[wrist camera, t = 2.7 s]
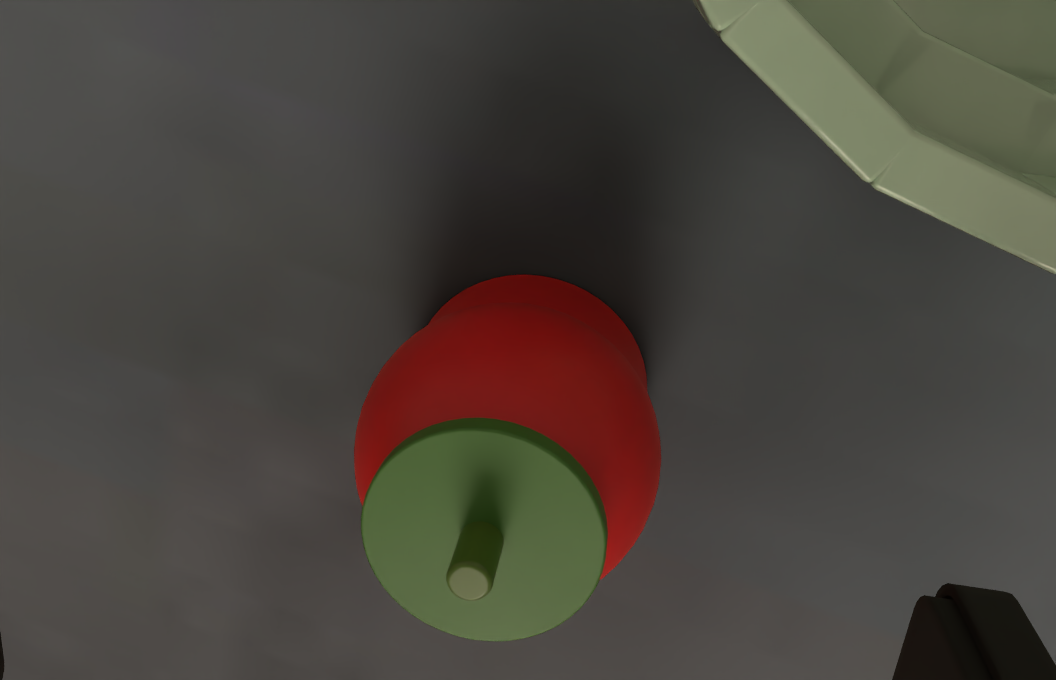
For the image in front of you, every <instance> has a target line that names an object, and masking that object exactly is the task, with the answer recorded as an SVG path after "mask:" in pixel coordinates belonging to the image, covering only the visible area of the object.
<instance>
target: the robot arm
mask: <svg viewBox="0 0 1056 680" xmlns="http://www.w3.org/2000/svg"><path fill="white" fill-rule="evenodd" d="M3 672H4V657H3V649H2V641H1V634H0V680H2V678H3ZM892 680H1056V665H1055V663H1054V662H1053V660H1052V658H1051V657H1050V655H1049V653H1048V651H1047V650H1046V648H1045V646H1044V645H1043V643H1042V641H1041V640H1040V638H1039V636H1038V634H1037V633H1036V631H1035V629H1034V628H1033V626H1032V624H1031V623H1030V621H1029V619H1028V618H1027V616H1026V614H1025V612H1024V611H1023V609H1022V607H1021V606H1020V604H1019V602H1018V601H1017V600H1016V598H1015V597H1014V596H1013V595H1012V594H1010V593H1007V592H1003V591H996V590H989V589H983V588H976V587H969V586H963V585H956V584H949V583H947V584H945V585H943V586H942V587H941V588H940V589H939V590H938V592H937V594H936V596H935V597H931V596H925V595H924V596H922V597H920V598H919V600H918V601H917V603H916V605H915V608H914V610H913V614H912V617H911V620H910V623H909V627H908V630H907V633H906V636H905V640H904V643H903V646H902V649H901V653H900V656H899V659H898V663H897V666H896V669H895V672H894V676H893V679H892Z"/></svg>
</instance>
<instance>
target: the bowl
mask: <svg viewBox="0 0 1056 680" xmlns="http://www.w3.org/2000/svg"><path fill="white" fill-rule="evenodd" d="M692 1H693V3H694V5H695V7H696V9H697V10H698V11H699V12H700V13H701V15H702V16H703V18H704V20H705V21H706V22H707V23H708V24H709V26H710V27H711V28H712V29H713V30H714V32H715V33H716V34H717V35H718V36H719V38H720V39H721V40H722V41H723V42H724V43H725V44H726V45H727V46H728V47H729V48H730V49H731V50H732V51H733V52H734V53H735V54H736V55H737V56H738V57H739V58H740V59H741V60H742V61H743V62H744V63H745V64H746V65H747V66H748V67H749V68H750V69H751V70H752V71H753V72H754V73H755V74H756V75H757V76H758V77H759V78H760V79H761V80H762V81H763V82H764V83H765V84H766V85H767V86H768V87H769V88H770V89H771V90H772V91H773V92H774V93H775V94H776V95H777V96H778V97H779V98H780V99H781V100H782V101H783V102H784V103H785V104H786V105H787V106H788V107H789V108H790V109H791V110H792V111H793V112H794V113H795V114H796V115H797V116H798V117H799V118H800V119H801V120H802V121H803V122H804V123H805V124H806V125H807V126H808V127H809V128H810V129H811V130H812V131H813V132H814V133H815V134H816V135H817V136H818V137H819V138H820V139H821V140H822V141H823V142H824V143H825V144H826V145H827V146H828V147H829V148H830V149H831V150H832V151H833V152H834V153H835V154H836V155H838V156H839V157H840V158H841V159H842V160H843V161H844V162H845V163H846V164H847V165H848V166H849V167H850V168H851V169H852V170H853V171H854V172H855V173H856V174H857V175H858V176H859V177H860V178H861V179H862V180H863V181H865V182H867V183H869V184H870V185H871V186H872V187H873V188H874V189H875V190H877V191H879V192H881V193H883V194H886V195H888V196H890V197H892V198H894V199H896V200H898V201H900V202H902V203H904V204H907V205H909V206H911V207H913V208H915V209H917V210H919V211H921V212H923V213H926V214H928V215H930V216H932V217H934V218H936V219H938V220H940V221H942V222H944V223H947V224H949V225H951V226H953V227H955V228H957V229H959V230H961V231H963V232H966V233H968V234H970V235H972V236H974V237H976V238H978V239H980V240H982V241H985V242H987V243H989V244H991V245H993V246H995V247H997V248H999V249H1001V250H1003V251H1006V252H1008V253H1010V254H1012V255H1014V256H1016V257H1018V258H1020V259H1022V260H1025V261H1027V262H1029V263H1031V264H1033V265H1035V266H1037V267H1039V268H1041V269H1044V270H1046V271H1048V272H1050V273H1052V274H1056V0H692Z"/></svg>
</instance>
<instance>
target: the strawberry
mask: <svg viewBox="0 0 1056 680" xmlns="http://www.w3.org/2000/svg"><path fill="white" fill-rule="evenodd" d="M354 463H355V478H356V484H357V489H358V495H359V498H360V501H361V504H362V515H361V534H362V539H363V545H364V549H365V552H366V555H367V558H368V561H369V563H370V565H371V568H372V570H373V572H374V574H375V575H376V577H377V578H378V580H379V581H380V583H381V585H382V586H383V587H384V589H385V590H386V591H387V592H388V593H389V594H390V596H391V597H392V598H393V599H394V600H395V601H396V602H397V603H398V604H399V605H401V606H402V607H403V608H404V609H405V610H407V611H408V612H409V613H411V614H412V615H413V616H415V617H416V618H418V619H419V620H421V621H423V622H424V623H426V624H428V625H430V626H432V627H434V628H436V629H439V630H441V631H443V632H446V633H449V634H452V635H455V636H459V637H463V638H468V639H472V640H481V641H510V640H518V639H523V638H527V637H532V636H535V635H537V634H540V633H543V632H546V631H548V630H550V629H552V628H554V627H556V626H558V625H560V624H561V623H562V622H564V621H565V620H567V619H568V618H570V617H571V616H572V615H573V614H574V613H575V612H577V611H578V610H579V609H580V608H581V607H582V606H583V605H584V603H585V602H586V601H587V600H588V599H589V597H590V596H591V594H592V593H593V591H594V589H595V588H596V586H597V584H598V582H599V580H600V579H602V578H603V577H604V576H606V575H607V574H608V573H609V572H610V571H611V570H612V569H613V568H614V567H615V566H617V565H618V563H619V562H620V561H621V560H622V559H623V557H624V556H625V555H626V554H627V552H628V551H629V550H630V549H631V547H632V546H633V545H634V543H635V542H636V540H637V538H638V537H639V535H640V534H641V532H642V530H643V528H644V526H645V524H646V521H647V519H648V516H649V514H650V512H651V509H652V507H653V505H654V501H655V497H656V493H657V489H658V484H659V476H660V466H661V445H660V436H659V430H658V425H657V420H656V415H655V412H654V409H653V406H652V403H651V400H650V398H649V395H648V393H647V376H646V371H645V366H644V361H643V358H642V356H641V353H640V350H639V347H638V345H637V343H636V341H635V339H634V337H633V336H632V334H631V332H630V331H629V329H628V328H627V327H626V325H625V324H624V322H623V321H622V320H621V319H620V318H619V317H618V316H617V315H616V313H615V312H614V311H613V310H612V309H611V308H609V307H608V306H607V305H606V304H605V303H603V302H602V301H601V300H600V299H598V298H597V297H595V296H594V295H592V294H590V293H589V292H587V291H586V290H583V289H581V288H579V287H577V286H575V285H573V284H570V283H567V282H564V281H561V280H558V279H555V278H550V277H545V276H537V275H508V276H503V277H498V278H493V279H490V280H486V281H483V282H480V283H478V284H476V285H473V286H471V287H469V288H467V289H465V290H464V291H462V292H460V293H459V294H457V295H456V296H454V297H453V298H452V299H450V300H449V301H448V302H447V303H446V304H445V305H444V306H443V307H441V309H440V310H439V311H438V312H437V313H436V314H435V316H434V317H433V318H432V319H431V321H430V322H429V324H428V325H427V326H426V327H424V328H423V329H421V330H420V331H418V332H417V333H415V334H414V335H413V336H412V337H410V338H409V339H408V340H407V341H406V342H405V343H404V344H402V345H401V346H400V347H399V349H398V350H397V351H396V352H395V353H394V354H393V355H392V356H391V358H390V359H389V360H388V361H387V362H386V364H385V365H384V366H383V367H382V369H381V371H380V372H379V374H378V375H377V377H376V379H375V380H374V382H373V384H372V386H371V388H370V390H369V392H368V395H367V397H366V399H365V402H364V404H363V406H362V410H361V414H360V417H359V421H358V426H357V431H356V437H355V446H354Z"/></svg>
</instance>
